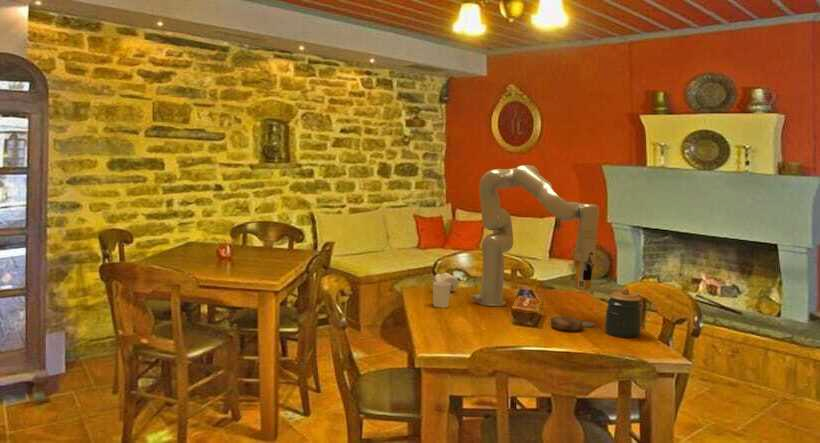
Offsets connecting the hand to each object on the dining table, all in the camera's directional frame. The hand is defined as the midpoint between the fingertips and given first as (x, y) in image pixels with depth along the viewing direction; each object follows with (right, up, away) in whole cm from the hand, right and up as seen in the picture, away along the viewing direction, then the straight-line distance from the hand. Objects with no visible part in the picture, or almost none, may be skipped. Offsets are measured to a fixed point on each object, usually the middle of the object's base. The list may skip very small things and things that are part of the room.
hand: (583, 277), depth 246 cm
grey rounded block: (-55, -11, +44) cm, 71 cm away
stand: (-10, -18, -12) cm, 24 cm away
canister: (+10, -20, -17) cm, 28 cm away
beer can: (0, -5, +1) cm, 5 cm away
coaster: (-1, -18, -7) cm, 19 cm away
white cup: (-57, -14, +16) cm, 61 cm away
